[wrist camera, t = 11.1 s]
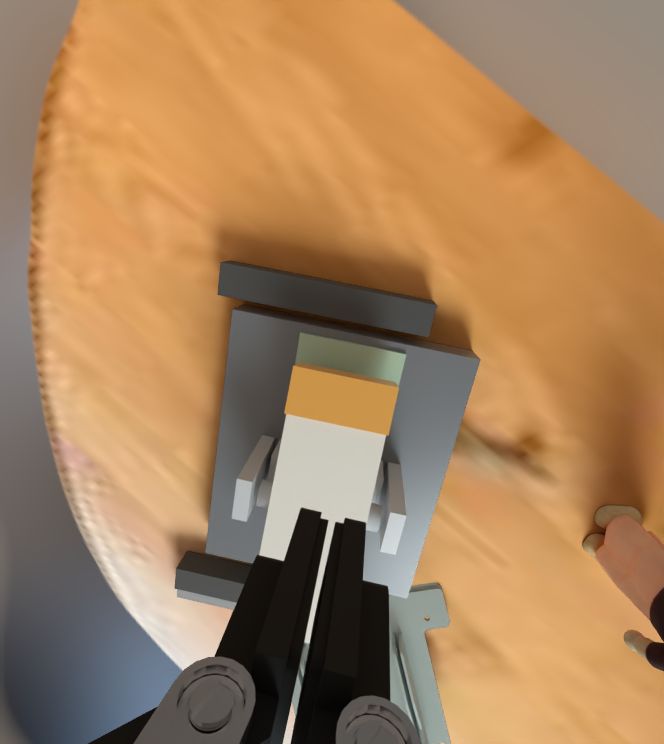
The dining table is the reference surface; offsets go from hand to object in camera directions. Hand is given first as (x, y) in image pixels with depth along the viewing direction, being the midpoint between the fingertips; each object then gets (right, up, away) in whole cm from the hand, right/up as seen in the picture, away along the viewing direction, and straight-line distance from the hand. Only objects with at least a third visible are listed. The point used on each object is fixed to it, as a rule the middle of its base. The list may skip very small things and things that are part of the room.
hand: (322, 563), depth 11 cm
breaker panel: (0, -1, +17) cm, 17 cm away
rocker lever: (0, -2, +13) cm, 13 cm away
